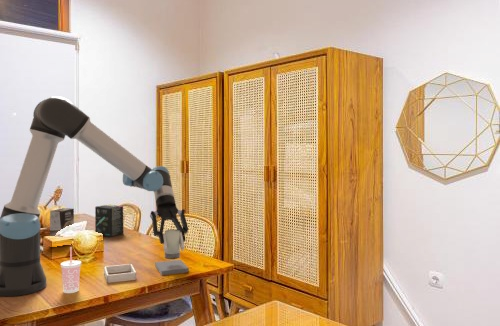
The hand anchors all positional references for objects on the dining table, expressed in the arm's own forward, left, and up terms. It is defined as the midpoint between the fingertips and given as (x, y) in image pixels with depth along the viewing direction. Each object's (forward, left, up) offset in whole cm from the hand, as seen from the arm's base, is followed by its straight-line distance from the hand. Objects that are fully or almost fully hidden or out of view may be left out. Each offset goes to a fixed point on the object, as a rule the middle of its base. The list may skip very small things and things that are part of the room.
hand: (174, 249), depth 155 cm
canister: (0, +4, -4) cm, 5 cm away
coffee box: (-38, +59, -9) cm, 71 cm away
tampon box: (-16, +73, -9) cm, 75 cm away
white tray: (-19, +2, -8) cm, 21 cm away
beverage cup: (-35, -7, -9) cm, 37 cm away
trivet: (0, +4, -8) cm, 9 cm away
